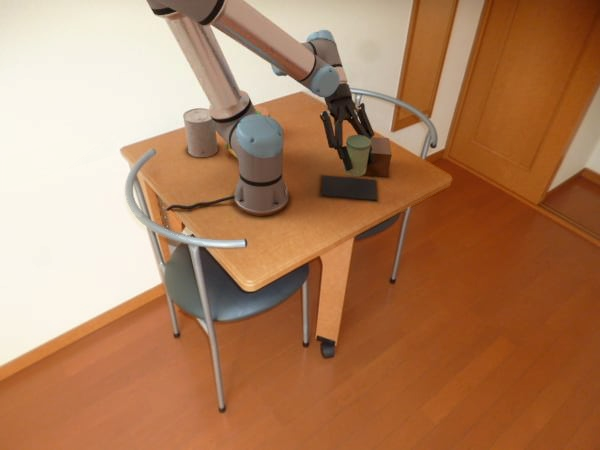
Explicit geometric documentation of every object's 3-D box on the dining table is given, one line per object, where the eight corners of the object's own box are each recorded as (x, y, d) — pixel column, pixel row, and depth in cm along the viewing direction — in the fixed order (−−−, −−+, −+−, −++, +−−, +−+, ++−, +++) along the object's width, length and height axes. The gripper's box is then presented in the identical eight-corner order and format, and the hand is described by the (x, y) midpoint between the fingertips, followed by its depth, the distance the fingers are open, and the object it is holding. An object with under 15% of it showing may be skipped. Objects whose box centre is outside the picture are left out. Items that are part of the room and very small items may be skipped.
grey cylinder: (183, 154, 135) (177, 119, 127) (195, 140, 142) (191, 106, 134) (210, 159, 133) (206, 124, 125) (222, 144, 140) (219, 110, 132)
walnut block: (355, 174, 131) (358, 151, 126) (354, 157, 138) (357, 135, 133) (386, 176, 131) (391, 154, 125) (384, 159, 138) (389, 138, 133)
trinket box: (272, 126, 151) (272, 102, 145) (267, 141, 143) (267, 116, 137) (243, 124, 152) (242, 99, 146) (236, 138, 144) (235, 113, 138)
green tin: (342, 175, 117) (346, 146, 111) (343, 162, 122) (346, 133, 116) (366, 177, 117) (371, 148, 111) (366, 164, 122) (371, 135, 116)
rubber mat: (321, 196, 121) (321, 194, 121) (322, 176, 129) (323, 175, 129) (376, 200, 121) (376, 199, 121) (374, 181, 128) (374, 179, 128)
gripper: (357, 87, 123) (381, 162, 123) (299, 99, 116) (324, 178, 116) (370, 76, 116) (395, 155, 116) (309, 88, 109) (336, 172, 109)
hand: (360, 166), depth 116 cm, fingers closed on green tin, 6 cm apart
